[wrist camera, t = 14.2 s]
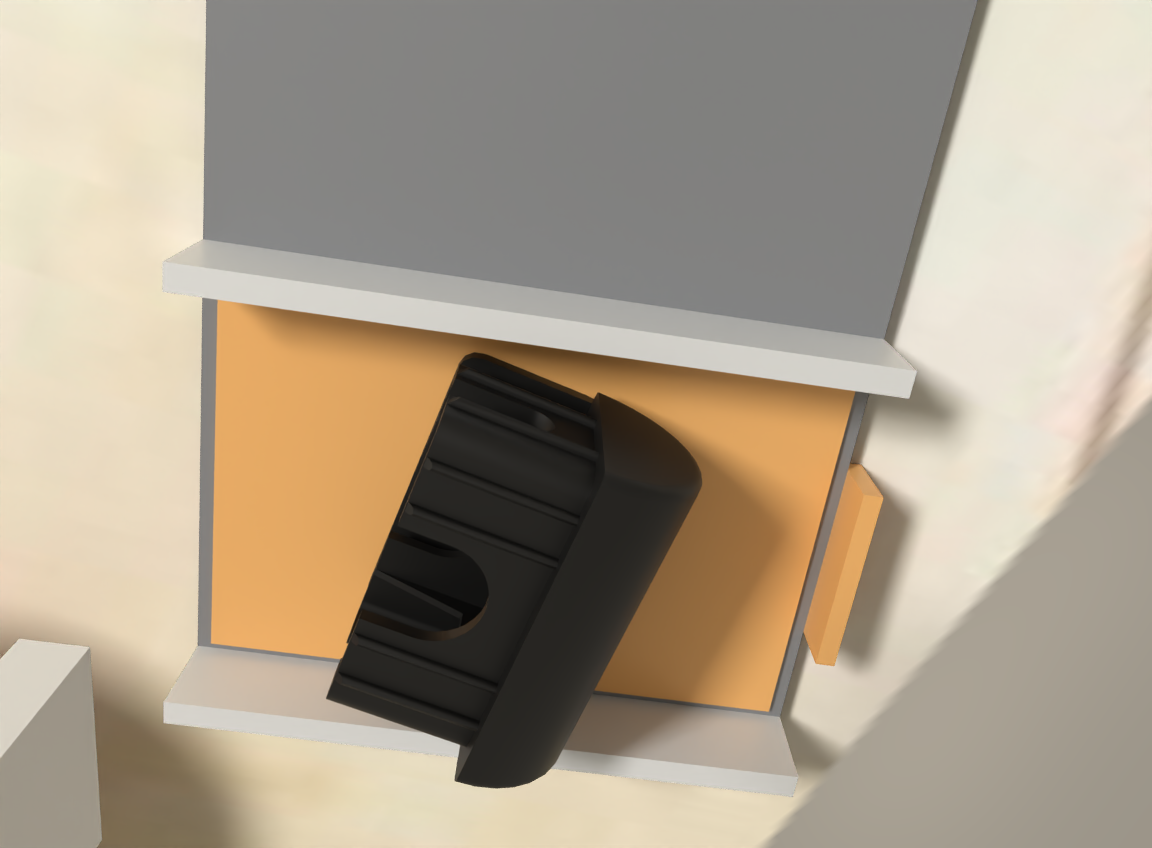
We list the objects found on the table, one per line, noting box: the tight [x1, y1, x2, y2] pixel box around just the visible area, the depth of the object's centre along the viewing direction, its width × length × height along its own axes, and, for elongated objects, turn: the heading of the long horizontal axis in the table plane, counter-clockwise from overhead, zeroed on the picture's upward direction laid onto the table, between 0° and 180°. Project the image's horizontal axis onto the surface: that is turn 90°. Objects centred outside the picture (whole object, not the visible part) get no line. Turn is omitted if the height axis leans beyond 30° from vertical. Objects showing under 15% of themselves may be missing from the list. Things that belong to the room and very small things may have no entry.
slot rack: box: [163, 0, 978, 797], centre depth 28 cm, size 21×28×4 cm
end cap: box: [326, 352, 702, 788], centre depth 28 cm, size 10×7×7 cm
